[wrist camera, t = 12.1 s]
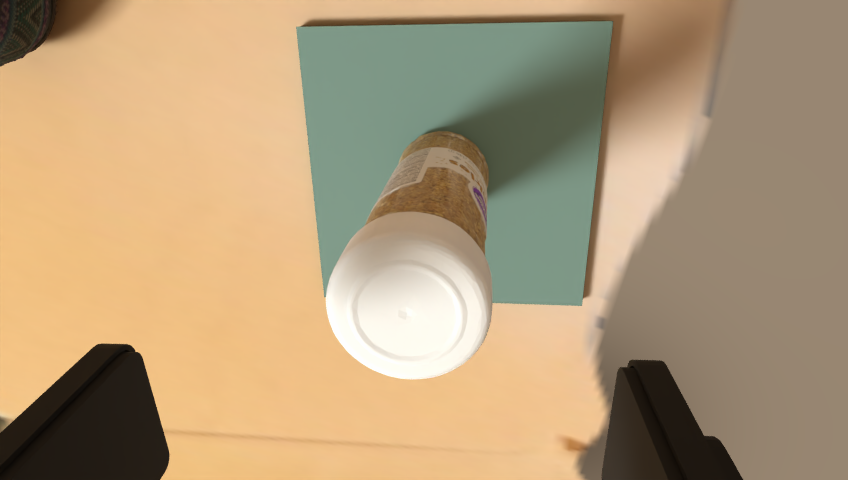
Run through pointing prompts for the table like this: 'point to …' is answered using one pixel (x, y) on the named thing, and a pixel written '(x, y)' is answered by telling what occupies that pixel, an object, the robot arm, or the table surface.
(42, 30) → the mate gourd
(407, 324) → the sprinkles bottle
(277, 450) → the table surface
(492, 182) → the mat
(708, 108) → the table surface
